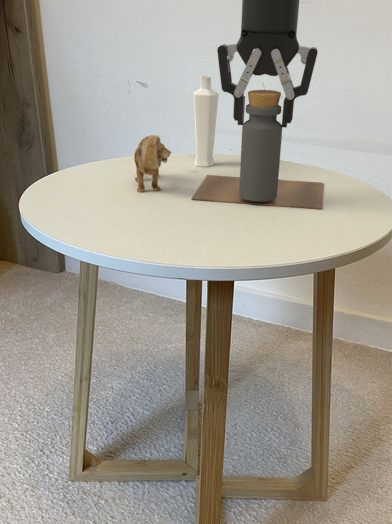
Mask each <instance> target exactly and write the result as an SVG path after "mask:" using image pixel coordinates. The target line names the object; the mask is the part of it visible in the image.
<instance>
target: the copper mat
mask: <svg viewBox="0 0 392 524" xmlns="http://www.w3.org/2000/svg"><path fill="white" fill-rule="evenodd" d="M239 188H240V176H231V175H230V176H229V175H217V174H216V175H215V174H213V175H212V174H207V175H206V176H205V178H204V179H203V180H202V182H201V184H200V185H199V186H198V188H197V189H196V191H195V193H194V194H193V196H192V197H191V201H203V202H215V203H229V204H231V203H232V204H243V205H257V206H269V207H270V206H271V207H284V208H298V209H312V210H323V195H324V182H321V181H320V182H318V181H304V180H302V181H301V180H292V179H291V180H288V179H287V180H286V179H278V188H277V197H276V198H275V199H274V200H271V201H264V202H255V201H248V200H245V199H242V198H241V197H240V196H239Z"/></svg>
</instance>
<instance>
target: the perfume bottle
mask: <svg viewBox="0 0 392 524" xmlns="http://www.w3.org/2000/svg"><path fill="white" fill-rule="evenodd" d="M212 78H213V76H211V75H199V81H200V82H199V88H198V89H196V90H195V91H193V93H192V95H193V114H194V115H193V116H194V138H195V139H194V140H195V157H194V161H193V162H194V166H195V167H205V168H209V167H212V166H213V165H215V160H214V146H215V136H216V125H217V117H218V116H217V115H218V106H219V94H220V93H218V92H217V91H216V90H214V89H212Z"/></svg>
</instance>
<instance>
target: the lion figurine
mask: <svg viewBox="0 0 392 524" xmlns="http://www.w3.org/2000/svg"><path fill="white" fill-rule="evenodd" d="M171 154H172V151H171V150H169V149H168V148H167V147H165V144H163V143H162V141H161V137H160V136H159V135H153V134H151V135H147V136H145V137H144V138H142V139H141V141H140V142H139V143H138V146H137V148H136V149H135V152H134V157H133V159H134V165H135V167H136V171H135V172H136V177H135V178H134V180H135V181H136V182H137V184H138V185H137V186H138V187H137V188H136V192H137V193H144V192H145V189H146V188H145V183H144V182H145V181H144V176H145V175H146V176H147V175H148V176H152V179H151V188H152V190H153V191H154V192H157V191H158V192H159V191H160V190H162V189H161V186H159V184H158V183H159V176H160V175H159V174H160V172H159V171H160V170H159V168H160V167H161V165H162V163H163V164H167V162H168V158H169V157H171Z"/></svg>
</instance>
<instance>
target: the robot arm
mask: <svg viewBox="0 0 392 524" xmlns="http://www.w3.org/2000/svg"><path fill="white" fill-rule="evenodd" d="M299 10H300V0H242V1H241V23H240V24H241V25H240V36H239V39H238V40H237V43H233V44H225V43H223V44H221V45H218V47H217V60H218V69H219V75H220V76H219V78H220V86H221V90H222V92H224V93H227V94H230V95H232V97H233V113H232V114H233V115H232V116H233V120H234V121H237V126H243V124H244V123H245V111H246V96H245V91H246V89H247V87H248V85H249V83H250V81H251V79H252V77H253V76H264V75H267V76H269V77H277V76H278V79H279V81H280V84H281V86H282V89H283V92H284V95H285V96H284V99H283V104H282V105H283V107H282V119H281V125H282V128H287V127H288V124H291V123H292V121H293V117H294V106H295V105H294V104H295V100H296V98H299V97H302V96H306V95H307V94H308V92H309V88H310V85H311V81H312V77H313V73H314V69H315V64H316V61H317V57H318V51H319V50H318V48H317V47H315V46H312V47H310V46H305V45H300V43H299V41H298V37H297V34H298V23H299ZM236 53H238V55H239V56H240V58H241V60H242V61H243V63H244V65H245V67H244V69H243V71H242V74H241V76H240V78H239V80H238V83H237V84H236V83H234V82H233V80H232V78H233V77H232V71H231V69H232V68H231V62H232V61H233V60H234V59H235V55H236ZM297 54H298V55H299V57H300V62H301V64H303V65H304V69H303V74H302V77H301V81H300V84H299V85H297V86H294V84H293V81H292V77H291V74H290V71H289V68H288V66H289V65H290V64H291V62H292V61H293V59H294V58H295V57H296V56H297Z"/></svg>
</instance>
